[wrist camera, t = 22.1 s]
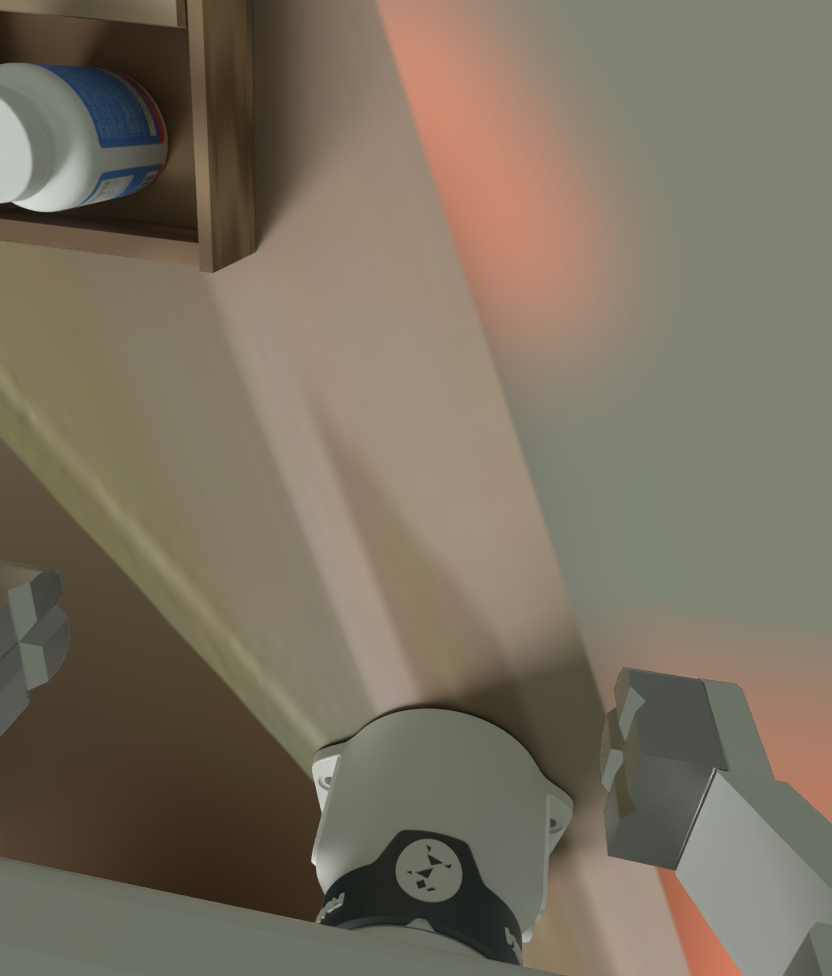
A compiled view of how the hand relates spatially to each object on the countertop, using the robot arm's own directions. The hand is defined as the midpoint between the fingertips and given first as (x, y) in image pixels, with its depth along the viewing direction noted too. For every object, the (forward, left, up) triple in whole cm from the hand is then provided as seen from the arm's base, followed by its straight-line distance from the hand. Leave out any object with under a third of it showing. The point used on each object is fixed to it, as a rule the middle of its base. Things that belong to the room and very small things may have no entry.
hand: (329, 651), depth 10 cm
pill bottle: (+4, +18, -28) cm, 34 cm away
